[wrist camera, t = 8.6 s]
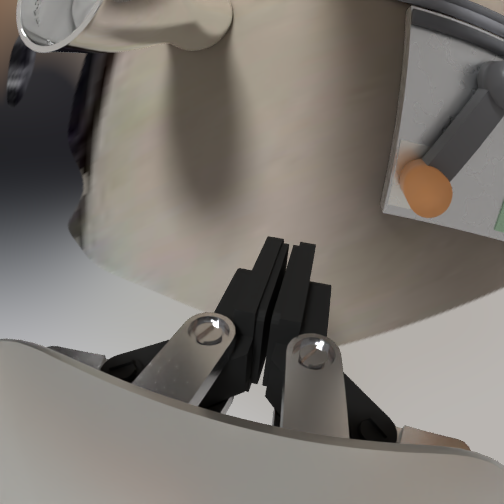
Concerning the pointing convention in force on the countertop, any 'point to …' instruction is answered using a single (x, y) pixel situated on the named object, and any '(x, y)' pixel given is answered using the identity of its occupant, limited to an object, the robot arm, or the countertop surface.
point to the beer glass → (121, 24)
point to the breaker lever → (455, 146)
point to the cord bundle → (458, 5)
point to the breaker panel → (437, 121)
